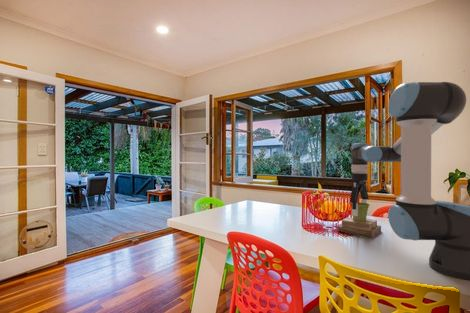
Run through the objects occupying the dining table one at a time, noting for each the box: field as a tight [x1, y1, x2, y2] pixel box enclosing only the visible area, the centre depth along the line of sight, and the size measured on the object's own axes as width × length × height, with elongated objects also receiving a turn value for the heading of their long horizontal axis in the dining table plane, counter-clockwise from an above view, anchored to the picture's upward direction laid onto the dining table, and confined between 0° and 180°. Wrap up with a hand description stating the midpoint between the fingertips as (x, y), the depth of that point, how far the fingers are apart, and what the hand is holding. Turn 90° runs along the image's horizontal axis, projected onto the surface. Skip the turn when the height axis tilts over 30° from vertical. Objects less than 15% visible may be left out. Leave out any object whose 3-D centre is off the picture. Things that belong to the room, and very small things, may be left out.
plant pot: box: [351, 201, 370, 222], centre depth 132 cm, size 9×9×9 cm
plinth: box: [337, 216, 382, 240], centre depth 132 cm, size 16×16×6 cm
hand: (359, 213), depth 132 cm, fingers open, 13 cm apart
